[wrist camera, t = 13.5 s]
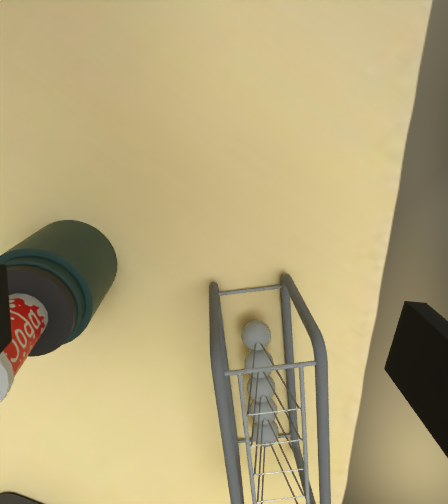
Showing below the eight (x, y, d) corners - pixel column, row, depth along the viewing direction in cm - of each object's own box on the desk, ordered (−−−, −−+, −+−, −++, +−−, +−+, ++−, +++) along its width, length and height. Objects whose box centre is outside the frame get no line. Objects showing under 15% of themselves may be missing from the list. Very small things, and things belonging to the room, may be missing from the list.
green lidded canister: (45, 204, 46) (-21, 239, 32) (130, 243, 48) (100, 290, 34) (17, 280, 49) (-54, 339, 35) (98, 313, 51) (60, 381, 37)
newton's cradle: (208, 277, 50) (209, 357, 33) (287, 267, 50) (328, 342, 33) (231, 451, 59) (241, 581, 43) (297, 443, 59) (333, 569, 43)
